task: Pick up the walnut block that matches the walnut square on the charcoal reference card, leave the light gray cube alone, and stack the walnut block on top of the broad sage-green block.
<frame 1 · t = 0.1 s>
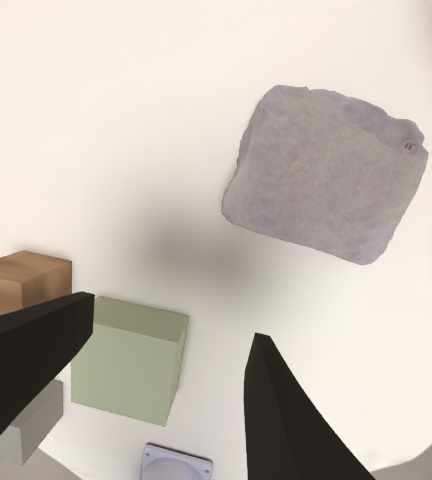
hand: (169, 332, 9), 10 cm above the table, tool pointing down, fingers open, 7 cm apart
light gray cube: (43, 392, 26), on the table
walnut block: (49, 279, 22), on the table
stone block: (309, 176, 17), on the table
sage block: (141, 342, 22), on the table
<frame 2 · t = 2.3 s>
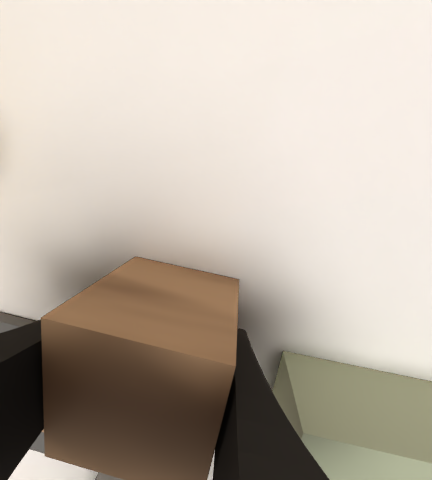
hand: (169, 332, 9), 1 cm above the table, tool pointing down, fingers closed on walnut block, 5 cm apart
reference card: (20, 380, 13), on the table
walnut block: (179, 314, 11), on the table, touching gripper
sage block: (348, 433, 12), on the table
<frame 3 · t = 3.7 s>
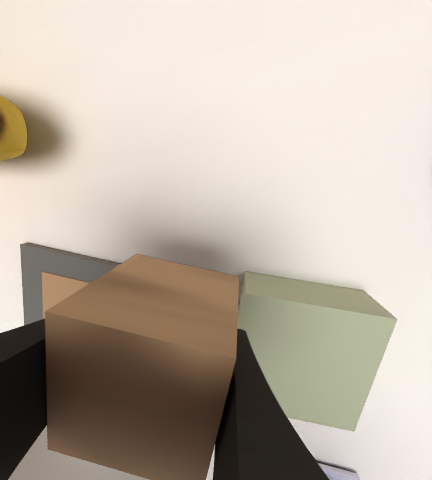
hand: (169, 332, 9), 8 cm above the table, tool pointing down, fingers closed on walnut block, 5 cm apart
reference card: (74, 300, 20), on the table
walnut block: (179, 311, 11), point 7 cm above the table, touching gripper
sage block: (289, 328, 18), on the table
when the fingers open (7 cm above the table, at t = 5.1 s): walnut block drops 2 cm, resting on sage block.
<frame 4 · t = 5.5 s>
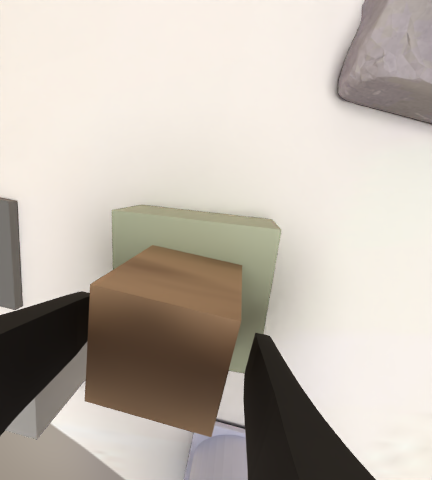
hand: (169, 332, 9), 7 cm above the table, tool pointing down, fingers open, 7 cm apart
light gray cube: (61, 348, 19), on the table
walnut block: (189, 295, 12), point 4 cm above the table, touching sage block
sage block: (200, 271, 16), on the table, touching walnut block
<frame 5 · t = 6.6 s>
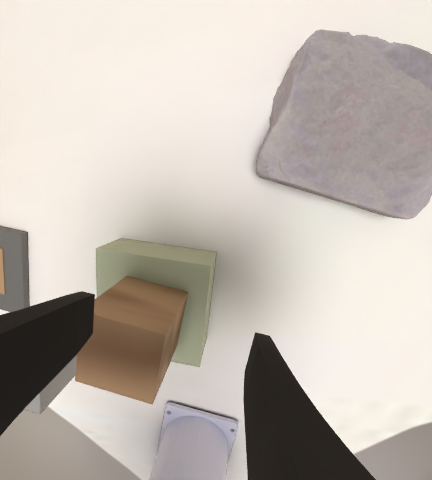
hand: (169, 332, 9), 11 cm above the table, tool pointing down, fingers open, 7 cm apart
light gray cube: (59, 346, 24), on the table
walnut block: (152, 311, 17), point 4 cm above the table, touching sage block
stone block: (343, 134, 17), on the table
sage block: (166, 288, 21), on the table, touching walnut block
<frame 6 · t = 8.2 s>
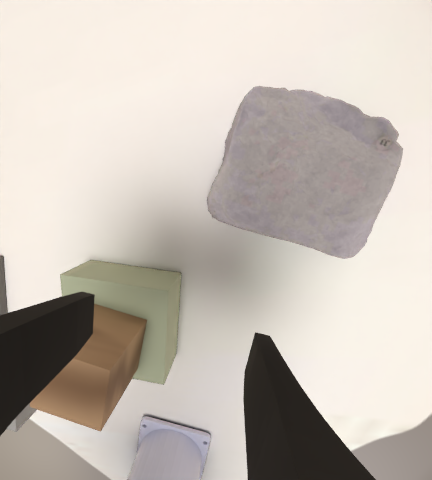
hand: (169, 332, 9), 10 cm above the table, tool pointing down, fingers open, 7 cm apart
light gray cube: (39, 363, 25), on the table
walnut block: (114, 336, 18), point 4 cm above the table
stone block: (293, 173, 17), on the table
sage block: (136, 306, 22), on the table
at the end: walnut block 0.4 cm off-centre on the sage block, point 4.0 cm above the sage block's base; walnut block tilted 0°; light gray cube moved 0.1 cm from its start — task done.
